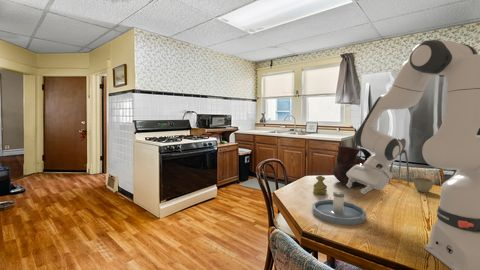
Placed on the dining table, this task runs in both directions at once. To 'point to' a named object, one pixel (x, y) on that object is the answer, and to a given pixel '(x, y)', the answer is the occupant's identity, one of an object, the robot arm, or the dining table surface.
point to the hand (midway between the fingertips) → (354, 189)
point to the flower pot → (423, 184)
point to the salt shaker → (320, 186)
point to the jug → (348, 163)
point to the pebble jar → (338, 202)
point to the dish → (348, 217)
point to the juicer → (400, 160)
